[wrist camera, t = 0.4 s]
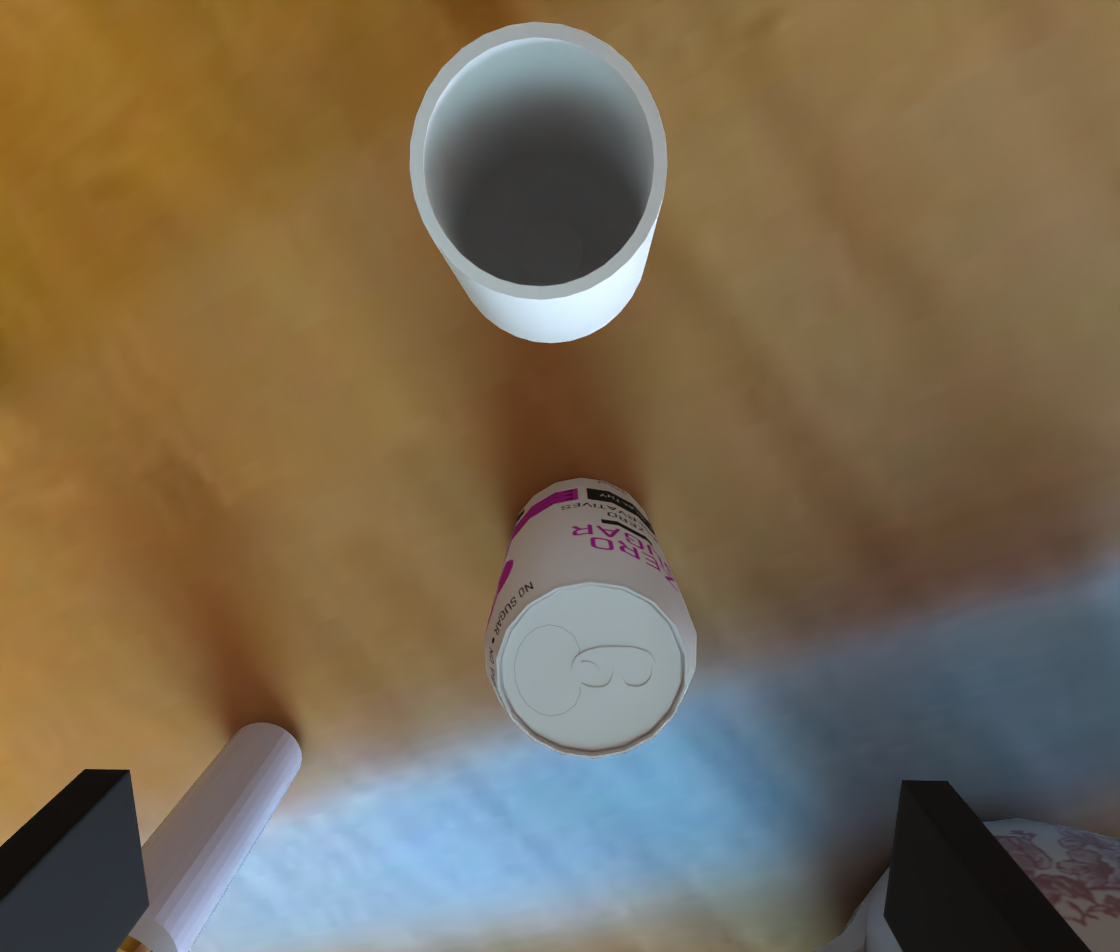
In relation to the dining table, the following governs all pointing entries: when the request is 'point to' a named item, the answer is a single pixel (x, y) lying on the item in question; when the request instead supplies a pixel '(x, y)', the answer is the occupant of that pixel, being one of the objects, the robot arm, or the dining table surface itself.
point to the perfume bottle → (211, 836)
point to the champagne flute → (541, 177)
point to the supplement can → (588, 624)
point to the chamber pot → (1052, 865)
